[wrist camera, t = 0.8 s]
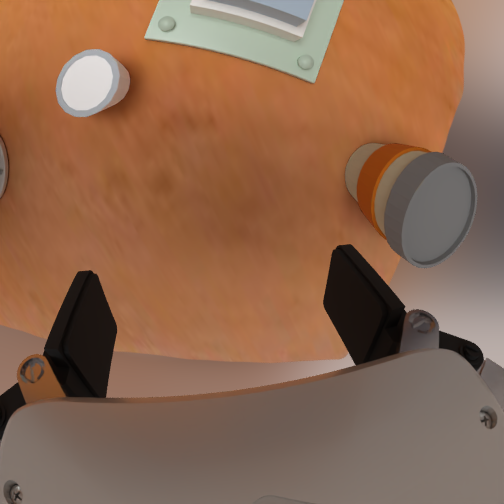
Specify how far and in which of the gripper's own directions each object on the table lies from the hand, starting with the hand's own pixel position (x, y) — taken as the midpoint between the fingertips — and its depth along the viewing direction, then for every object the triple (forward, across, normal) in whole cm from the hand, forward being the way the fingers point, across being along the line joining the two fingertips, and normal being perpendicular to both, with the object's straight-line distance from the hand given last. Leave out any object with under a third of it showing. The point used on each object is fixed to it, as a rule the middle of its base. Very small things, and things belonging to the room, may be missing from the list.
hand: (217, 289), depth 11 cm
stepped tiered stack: (+25, -7, -22) cm, 33 cm away
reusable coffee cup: (+25, -23, +3) cm, 34 cm away
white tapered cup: (+25, +11, -10) cm, 29 cm away
